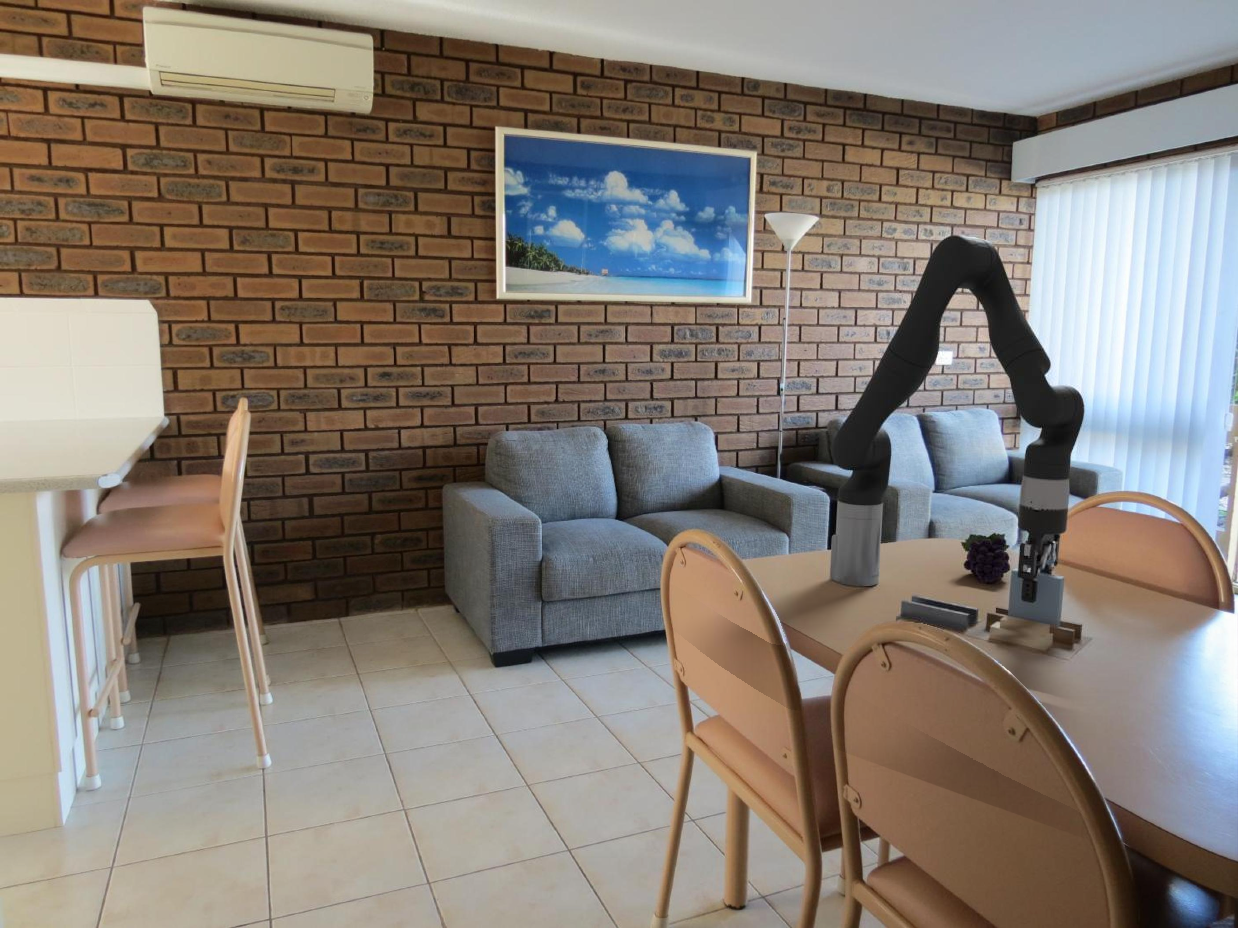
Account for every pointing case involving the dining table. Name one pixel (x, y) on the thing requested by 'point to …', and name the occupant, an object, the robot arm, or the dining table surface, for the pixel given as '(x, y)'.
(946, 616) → the stand
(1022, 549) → the robot arm
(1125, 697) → the dining table surface
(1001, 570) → the fruit
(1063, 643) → the offcut rack
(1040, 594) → the tall sheet
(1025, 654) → the dining table surface
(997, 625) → the offcut stack
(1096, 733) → the dining table surface
